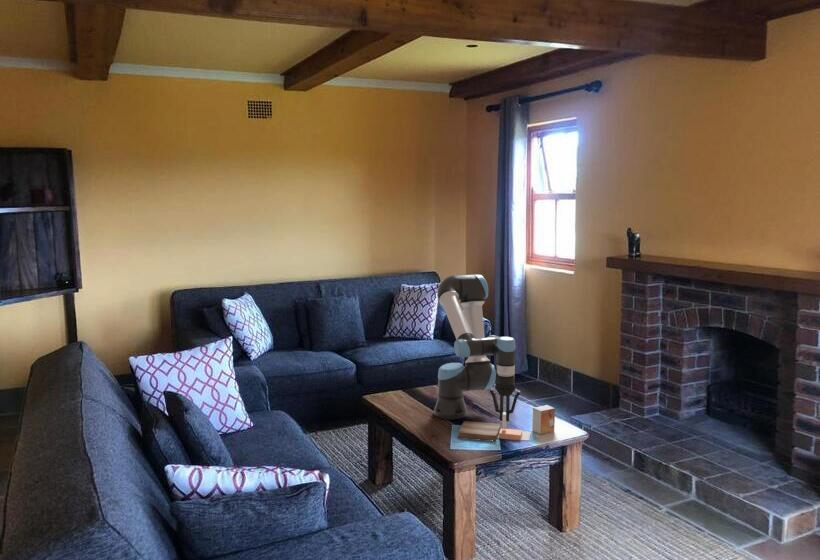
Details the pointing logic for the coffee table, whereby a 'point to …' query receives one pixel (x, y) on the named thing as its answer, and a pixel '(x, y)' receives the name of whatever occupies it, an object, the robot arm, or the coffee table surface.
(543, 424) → the small box
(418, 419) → the coffee table surface
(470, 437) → the board
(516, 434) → the salmon flat rectangular block
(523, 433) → the mat
